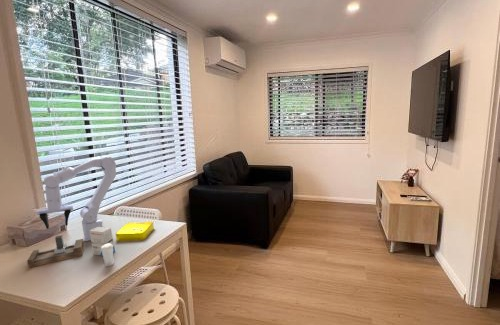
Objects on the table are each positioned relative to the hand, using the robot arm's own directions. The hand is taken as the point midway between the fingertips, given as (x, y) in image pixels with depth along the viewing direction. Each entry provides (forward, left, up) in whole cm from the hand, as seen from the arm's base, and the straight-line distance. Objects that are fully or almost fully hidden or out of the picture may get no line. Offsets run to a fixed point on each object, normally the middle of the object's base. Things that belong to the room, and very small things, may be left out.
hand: (57, 226), depth 138 cm
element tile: (-34, +5, -11) cm, 36 cm away
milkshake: (-21, +33, -11) cm, 40 cm away
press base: (0, +12, -10) cm, 16 cm away
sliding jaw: (-2, +12, -9) cm, 15 cm away
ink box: (-19, +20, -11) cm, 30 cm away
